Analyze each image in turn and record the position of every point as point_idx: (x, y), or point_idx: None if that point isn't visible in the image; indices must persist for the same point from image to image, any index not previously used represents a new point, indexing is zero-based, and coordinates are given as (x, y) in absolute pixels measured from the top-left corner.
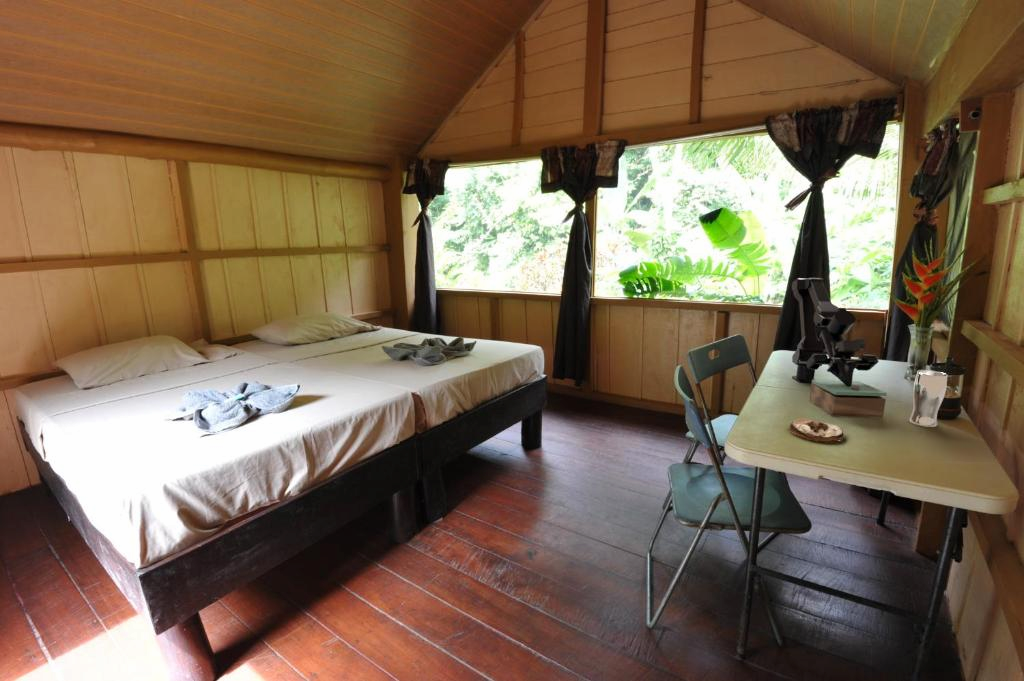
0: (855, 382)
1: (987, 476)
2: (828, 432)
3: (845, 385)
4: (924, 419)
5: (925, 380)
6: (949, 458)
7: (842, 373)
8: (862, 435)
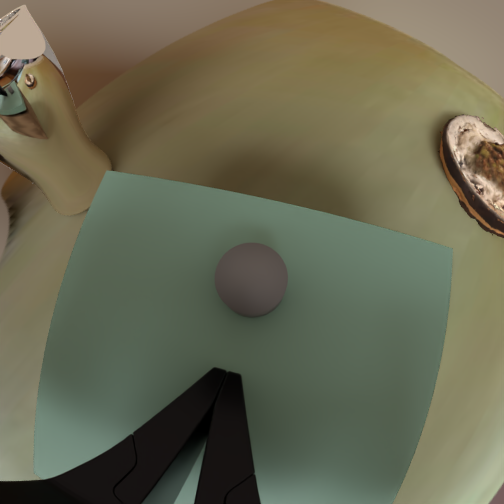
0: (70, 461)
1: (263, 10)
2: (480, 134)
3: None
4: (95, 145)
5: (35, 27)
6: (260, 36)
7: (256, 496)
8: (377, 130)
